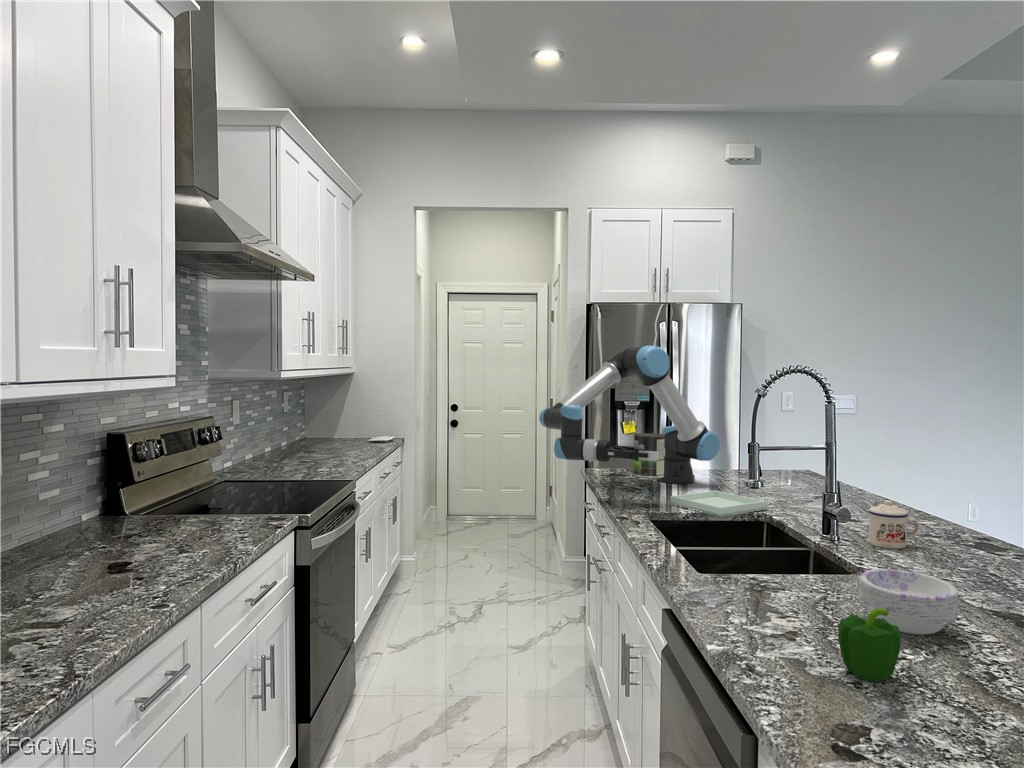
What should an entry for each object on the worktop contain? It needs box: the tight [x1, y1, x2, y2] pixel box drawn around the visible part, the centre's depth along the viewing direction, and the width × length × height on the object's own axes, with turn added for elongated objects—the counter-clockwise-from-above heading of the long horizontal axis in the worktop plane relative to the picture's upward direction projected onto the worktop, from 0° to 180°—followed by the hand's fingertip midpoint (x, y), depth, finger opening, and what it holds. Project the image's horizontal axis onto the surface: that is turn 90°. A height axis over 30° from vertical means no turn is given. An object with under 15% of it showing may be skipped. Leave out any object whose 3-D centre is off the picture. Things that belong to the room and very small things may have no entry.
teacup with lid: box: [868, 499, 920, 550], centre depth 171 cm, size 12×9×12 cm
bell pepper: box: [837, 608, 902, 683], centre depth 97 cm, size 8×8×10 cm
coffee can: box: [633, 432, 665, 479], centre depth 220 cm, size 10×10×14 cm
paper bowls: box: [858, 569, 959, 636], centre depth 117 cm, size 15×15×8 cm
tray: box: [669, 490, 769, 518], centre depth 218 cm, size 22×22×3 cm
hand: (661, 453), depth 219 cm, fingers closed on coffee can, 10 cm apart
